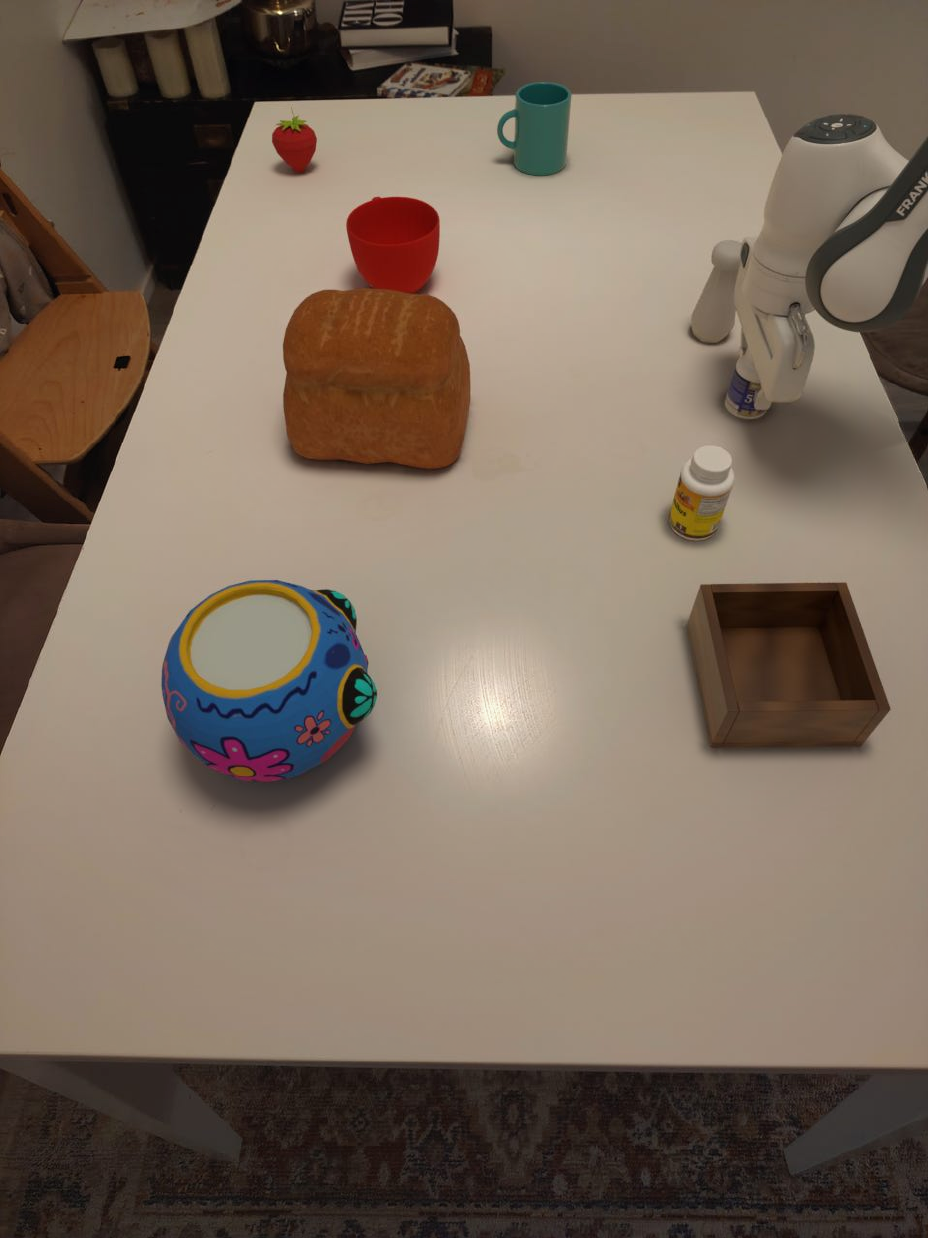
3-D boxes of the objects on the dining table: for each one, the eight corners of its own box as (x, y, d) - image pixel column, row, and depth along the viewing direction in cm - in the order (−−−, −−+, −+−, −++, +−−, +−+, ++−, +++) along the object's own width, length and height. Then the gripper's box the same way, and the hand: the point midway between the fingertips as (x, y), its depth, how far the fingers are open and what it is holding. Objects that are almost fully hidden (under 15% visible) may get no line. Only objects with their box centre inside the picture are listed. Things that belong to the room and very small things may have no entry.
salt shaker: (699, 317, 116) (721, 228, 105) (737, 331, 114) (763, 241, 103) (680, 338, 113) (700, 248, 103) (718, 353, 111) (743, 263, 101)
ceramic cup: (420, 242, 129) (416, 176, 121) (453, 301, 119) (451, 234, 111) (339, 257, 127) (330, 192, 118) (367, 319, 117) (358, 253, 109)
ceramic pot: (397, 780, 75) (381, 696, 63) (202, 834, 73) (146, 758, 61) (357, 630, 85) (336, 533, 73) (183, 673, 83) (132, 580, 70)
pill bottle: (739, 425, 103) (759, 365, 96) (716, 400, 106) (733, 340, 98) (775, 413, 104) (797, 353, 97) (750, 389, 107) (770, 329, 100)
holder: (822, 624, 85) (846, 582, 79) (860, 747, 77) (891, 709, 71) (685, 626, 85) (700, 583, 79) (709, 748, 77) (728, 711, 71)
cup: (494, 154, 145) (495, 83, 136) (562, 151, 145) (568, 80, 136) (498, 179, 140) (499, 107, 131) (568, 176, 140) (574, 104, 131)
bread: (315, 378, 110) (291, 259, 96) (475, 389, 108) (474, 269, 94) (282, 470, 99) (250, 351, 86) (458, 483, 98) (455, 364, 84)
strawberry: (280, 164, 144) (268, 101, 136) (323, 163, 144) (314, 101, 136) (275, 181, 141) (263, 118, 133) (319, 180, 141) (310, 117, 133)
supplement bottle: (663, 507, 95) (680, 440, 86) (711, 505, 95) (733, 438, 87) (672, 544, 92) (691, 477, 83) (722, 542, 92) (746, 475, 83)
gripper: (841, 336, 84) (798, 439, 95) (793, 229, 96) (760, 332, 107) (779, 337, 84) (744, 440, 96) (739, 230, 96) (712, 333, 108)
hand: (752, 382), depth 102 cm, fingers open, 7 cm apart
